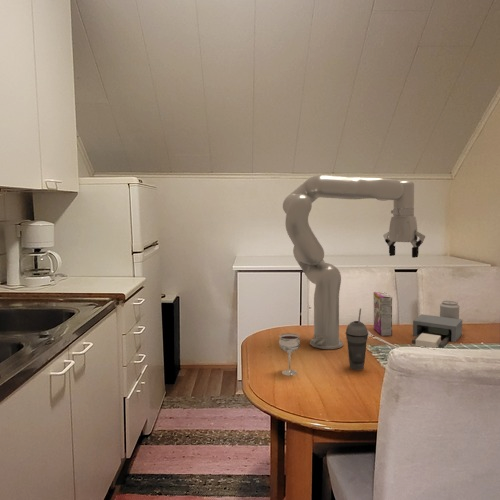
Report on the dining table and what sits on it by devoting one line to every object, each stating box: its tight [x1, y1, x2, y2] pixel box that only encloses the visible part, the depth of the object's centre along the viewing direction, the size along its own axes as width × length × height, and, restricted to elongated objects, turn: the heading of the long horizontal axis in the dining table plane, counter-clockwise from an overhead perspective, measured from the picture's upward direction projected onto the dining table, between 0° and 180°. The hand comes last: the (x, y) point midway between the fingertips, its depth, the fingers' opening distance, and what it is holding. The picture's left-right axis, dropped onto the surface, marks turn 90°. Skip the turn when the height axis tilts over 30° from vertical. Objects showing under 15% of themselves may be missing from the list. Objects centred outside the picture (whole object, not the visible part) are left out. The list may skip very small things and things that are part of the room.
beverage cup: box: [345, 308, 369, 371], centre depth 137 cm, size 7×7×20 cm
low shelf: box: [411, 313, 463, 348], centre depth 167 cm, size 22×16×6 cm
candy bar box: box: [373, 291, 393, 337], centre depth 176 cm, size 11×5×16 cm, turn 179°
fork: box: [367, 330, 398, 349], centre depth 165 cm, size 3×20×2 cm, turn 22°
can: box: [439, 300, 460, 319], centre depth 179 cm, size 8×8×12 cm
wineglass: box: [278, 332, 301, 377], centre depth 134 cm, size 7×7×12 cm
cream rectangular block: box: [415, 333, 442, 349], centre depth 160 cm, size 10×7×3 cm
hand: (403, 256), depth 165 cm, fingers open, 9 cm apart
